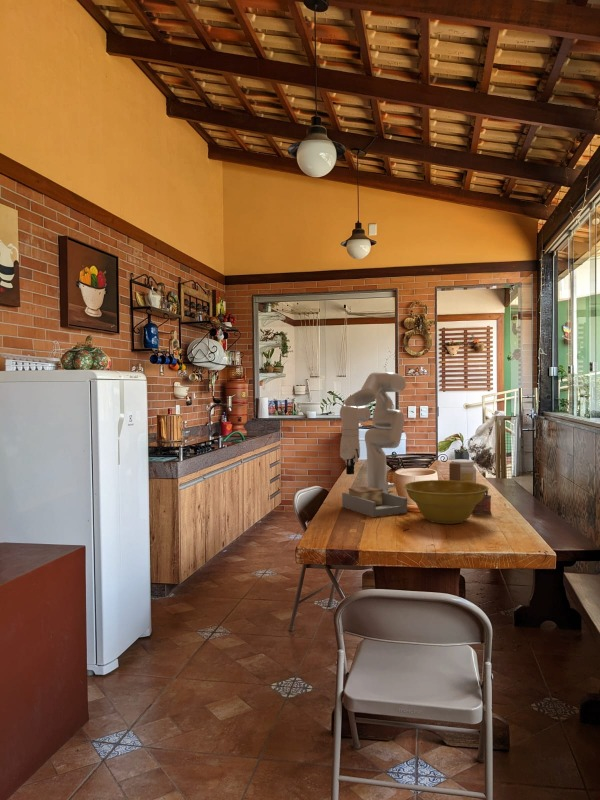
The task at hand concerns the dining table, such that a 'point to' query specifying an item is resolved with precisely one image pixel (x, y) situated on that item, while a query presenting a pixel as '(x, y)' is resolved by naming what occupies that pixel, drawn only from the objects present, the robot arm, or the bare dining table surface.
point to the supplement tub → (467, 470)
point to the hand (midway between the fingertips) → (350, 474)
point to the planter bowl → (445, 499)
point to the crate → (368, 493)
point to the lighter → (483, 505)
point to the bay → (388, 506)
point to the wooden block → (455, 471)
